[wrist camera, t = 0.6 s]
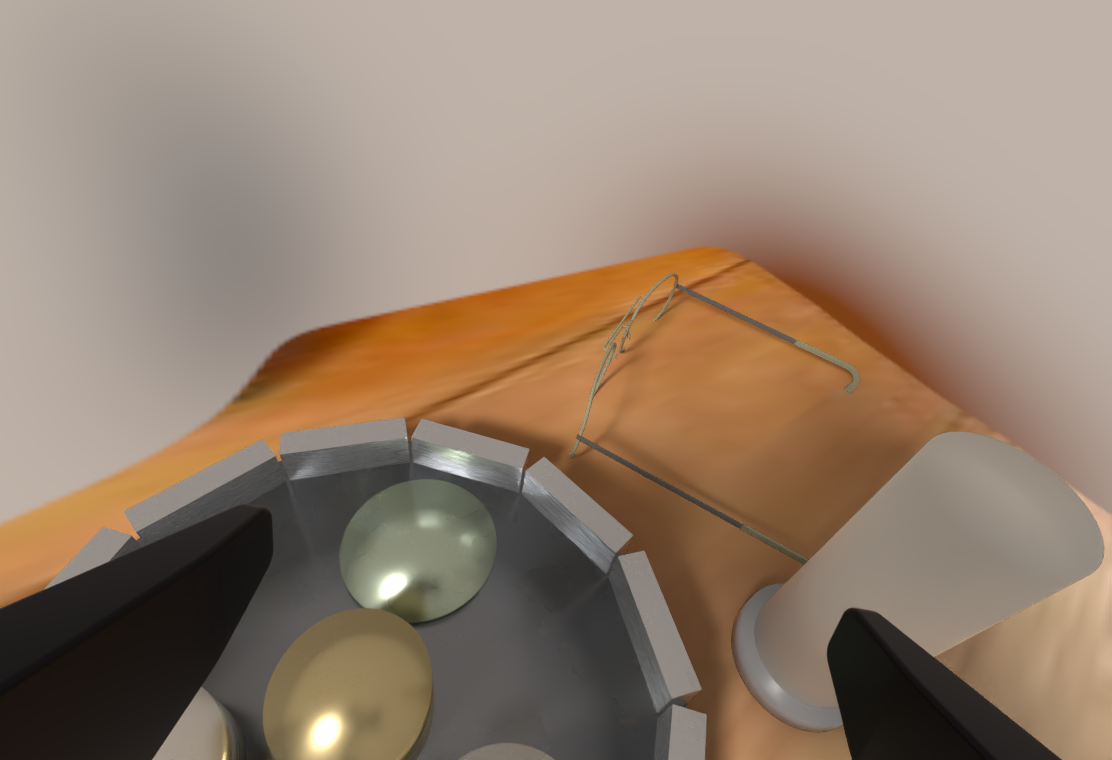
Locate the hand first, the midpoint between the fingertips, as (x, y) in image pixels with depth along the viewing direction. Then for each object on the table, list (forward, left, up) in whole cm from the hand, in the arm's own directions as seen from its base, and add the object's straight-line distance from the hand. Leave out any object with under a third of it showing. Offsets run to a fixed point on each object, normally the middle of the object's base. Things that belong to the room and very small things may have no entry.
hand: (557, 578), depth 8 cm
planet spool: (+1, -13, -16) cm, 21 cm away
